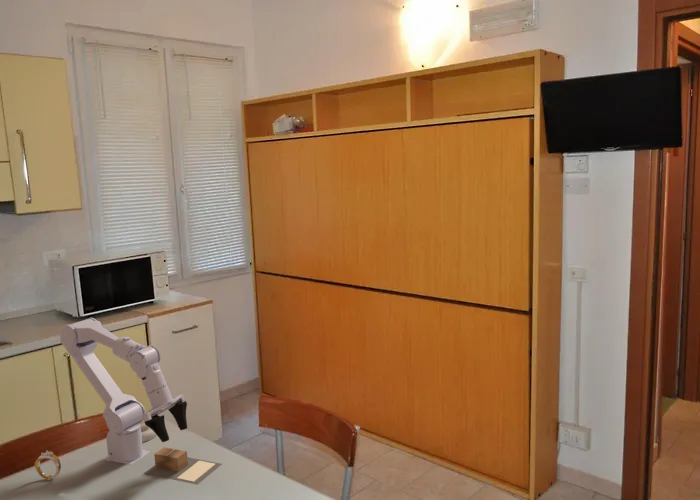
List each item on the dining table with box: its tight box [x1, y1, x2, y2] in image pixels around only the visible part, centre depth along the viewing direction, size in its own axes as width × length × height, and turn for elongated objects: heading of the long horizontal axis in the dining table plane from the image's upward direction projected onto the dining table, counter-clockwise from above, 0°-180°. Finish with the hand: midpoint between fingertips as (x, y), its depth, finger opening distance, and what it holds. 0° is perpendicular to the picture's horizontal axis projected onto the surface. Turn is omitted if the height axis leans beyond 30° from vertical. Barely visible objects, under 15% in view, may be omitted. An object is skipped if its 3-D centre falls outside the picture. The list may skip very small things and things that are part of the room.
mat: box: [144, 456, 223, 485], centre depth 158 cm, size 18×11×1 cm, turn 67°
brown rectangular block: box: [153, 446, 188, 472], centre depth 159 cm, size 8×4×4 cm, turn 67°
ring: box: [34, 449, 62, 481], centre depth 156 cm, size 7×3×8 cm, turn 76°
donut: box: [141, 422, 157, 443], centre depth 178 cm, size 10×4×10 cm
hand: (175, 435), depth 157 cm, fingers open, 7 cm apart
